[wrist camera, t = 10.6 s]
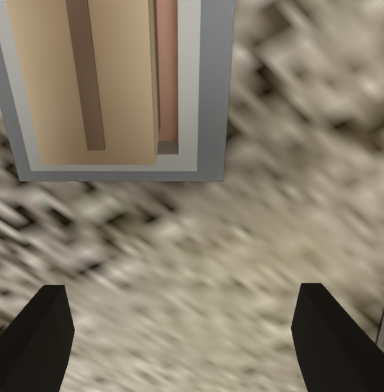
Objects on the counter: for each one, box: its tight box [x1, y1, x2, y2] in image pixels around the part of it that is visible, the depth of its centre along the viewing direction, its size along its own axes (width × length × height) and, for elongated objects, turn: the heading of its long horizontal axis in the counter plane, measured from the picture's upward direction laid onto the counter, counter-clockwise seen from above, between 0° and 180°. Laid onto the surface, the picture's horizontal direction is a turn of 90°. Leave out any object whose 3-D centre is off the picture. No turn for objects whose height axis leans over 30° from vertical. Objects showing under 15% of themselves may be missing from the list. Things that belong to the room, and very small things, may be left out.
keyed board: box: [0, 0, 235, 181], centre depth 14 cm, size 14×10×2 cm
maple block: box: [6, 0, 161, 165], centre depth 13 cm, size 4×8×4 cm, turn 179°
